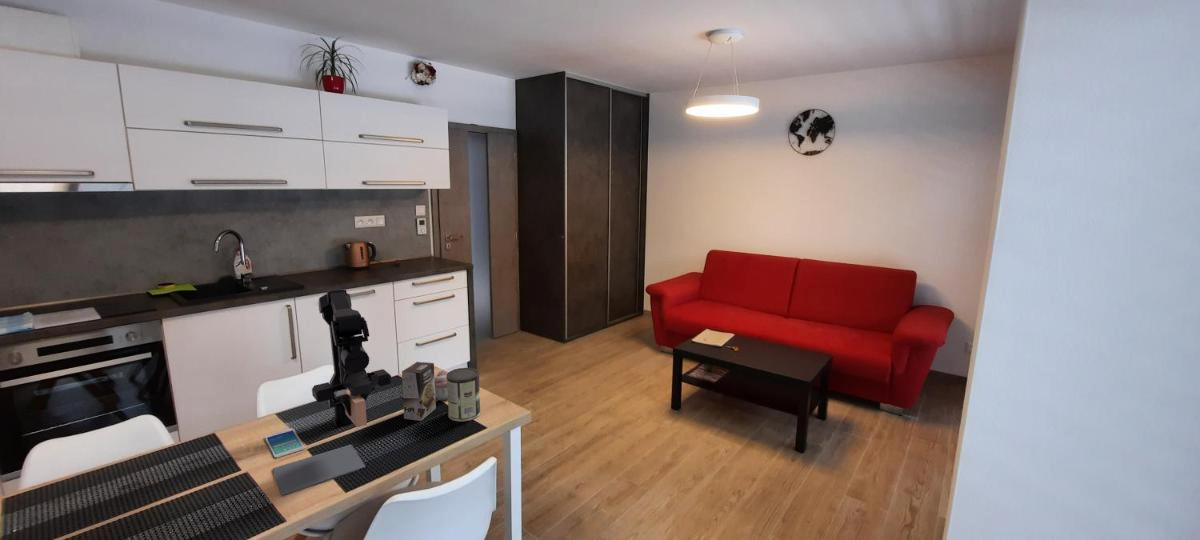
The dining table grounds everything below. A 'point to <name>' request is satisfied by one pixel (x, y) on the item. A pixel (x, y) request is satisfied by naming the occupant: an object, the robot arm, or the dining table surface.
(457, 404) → the coffee can
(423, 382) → the coffee box
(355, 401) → the block
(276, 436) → the smartphone
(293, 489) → the mat
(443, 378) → the cupcake
